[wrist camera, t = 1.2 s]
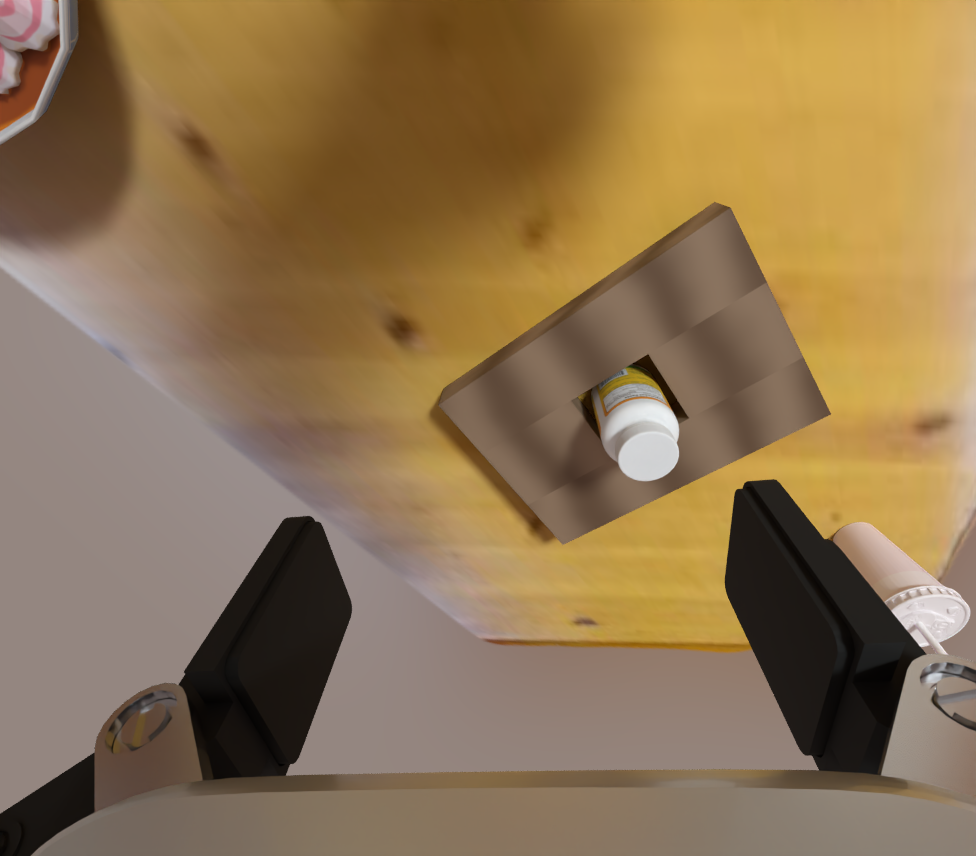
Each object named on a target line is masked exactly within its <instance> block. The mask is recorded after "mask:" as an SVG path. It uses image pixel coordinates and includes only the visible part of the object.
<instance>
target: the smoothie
mask: <svg viewBox="0 0 976 856" xmlns="http://www.w3.org/2000/svg"><path fill="white" fill-rule="evenodd" d="M833 542H834V543H835V544H836V545H837V546H838V547H839V548H840V549H841V550H842V551H843V553H844V554H845V555H846V556H847V557H848V559H849V560H850V561H851V562H852V564H853V565H854V566H855V567H856V568H857V570H858V571H859V572H860V573H861V575H862V576H863V577H864V578H865V580H866V581H867V582H868V583H869V584H870V586H871V587H872V588H873V589H874V591H875V592H876V593H877V594H878V595H879V597H880V598H881V599H882V600H883V602H884V603H885V604H886V605H887V606H888V608H889V609H890V610H891V611H892V613H893V614H894V615H895V616H896V618H897V619H898V620H899V621H900V622H901V624H902V625H903V626H904V627H905V629H906V630H907V631H908V632H909V633H910V635H911V636H912V637H913V638H914V640H915V641H916V642H917V643H918V644H919V646H920V647H923V646H928V645H930V646H931V647H932V648H933V649H934V651H935V652H936V653H937V654H945V655H948V654H947V653H946V652H945V650H944V649H943V648H942V647H941V645H940V644H939V642H942V641H944V640H946V639H948V638H950V637H952V636H953V635H955V634H956V633H958V632H959V631H960V630H961V629H962V628H963V627H964V626H965V625H966V624H967V622H968V620H969V617H970V608H969V606H968V604H967V603H966V602H965V601H964V600H963V599H962V597H961V596H960V594H959V593H957V592H956V591H955V590H953V589H950V588H947V587H944V586H943V585H942V584H941V583H939V582H938V581H937V580H936V579H935V578H934V577H933V576H931V575H930V574H929V573H928V572H926V571H925V570H924V569H923V568H922V567H921V566H919V565H918V564H917V563H916V562H915V561H914V560H912V559H911V558H910V557H909V556H908V555H906V554H905V553H904V552H903V551H902V550H901V549H899V548H898V547H897V546H896V545H895V544H894V543H892V542H891V541H890V540H889V539H888V538H886V537H885V536H884V535H883V534H882V533H881V532H879V531H878V530H877V529H876V528H875V527H874V526H872V525H871V524H869V523H865V522H856V523H852V524H849V525H846V526H844V527H843V528H841V529H840V530H839V531H838V532H837V533H836V534H835V536H834V538H833Z"/></svg>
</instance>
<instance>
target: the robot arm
mask: <svg viewBox="0 0 976 856" xmlns="http://www.w3.org/2000/svg"><path fill="white" fill-rule="evenodd" d="M725 588H726V593H727V596H728V598H729V601H730V603H731V605H732V607H733V609H734V611H735V613H736V615H737V618H738V620H739V622H740V624H741V626H742V628H743V630H744V632H745V635H746V637H747V639H748V641H749V643H750V645H751V647H752V649H753V652H754V653H755V656H756V658H757V660H758V662H759V664H760V666H761V669H762V670H763V673H764V675H765V677H766V679H767V681H768V683H769V686H770V688H771V690H772V692H773V694H774V696H775V698H776V700H777V703H778V704H779V707H780V709H781V711H782V713H783V715H784V717H785V719H786V721H787V724H788V726H789V728H790V730H791V732H792V734H793V736H794V738H795V741H796V743H797V745H798V747H799V749H800V750H801V752H802V753H803V754H804V755H812V756H813V758H814V760H815V763H816V765H817V767H818V769H819V771H816V770H730V769H728V770H726V769H711V770H710V769H707V770H590V771H589V770H586V771H511V772H509V771H507V772H444V773H443V772H439V773H383V774H334V775H332V774H331V775H293V776H286V773H287V771H288V768H289V765H290V764H293V763H295V762H296V761H297V759H298V758H299V755H300V753H301V750H302V748H303V745H304V742H305V739H306V737H307V734H308V731H309V729H310V726H311V723H312V721H313V718H314V715H315V712H316V710H317V707H318V704H319V702H320V699H321V696H322V693H323V691H324V688H325V685H326V683H327V680H328V677H329V675H330V672H331V669H332V666H333V664H334V661H335V658H336V656H337V653H338V650H339V647H340V645H341V642H342V639H343V637H344V634H345V631H346V629H347V626H348V623H349V620H350V618H351V613H352V604H351V600H350V597H349V595H348V592H347V589H346V587H345V584H344V582H343V579H342V576H341V574H340V571H339V568H338V566H337V563H336V561H335V558H334V555H333V553H332V550H331V547H330V545H329V542H328V540H327V537H326V534H325V532H324V529H323V527H322V525H321V523H320V522H315V520H314V519H313V518H312V517H310V516H303V517H290V518H286V519H284V520H283V521H282V523H281V524H280V526H279V528H278V529H277V530H276V532H275V533H274V535H273V537H272V538H271V539H270V541H269V542H268V544H267V546H266V547H265V549H264V550H263V552H262V553H261V555H260V556H259V558H258V559H257V561H256V562H255V564H254V566H253V567H252V569H251V570H250V572H249V573H248V575H247V576H246V578H245V579H244V581H243V582H242V584H241V585H240V587H239V588H238V590H237V591H236V593H235V595H234V596H233V598H232V599H231V600H230V602H229V604H228V605H227V607H226V608H225V610H224V611H223V613H222V614H221V616H220V617H219V619H218V620H217V622H216V624H215V625H214V627H213V628H212V630H211V631H210V633H209V634H208V636H207V637H206V639H205V640H204V642H203V643H202V645H201V646H200V648H199V650H198V651H197V652H196V654H195V655H194V657H193V659H192V660H191V662H190V663H189V665H188V666H187V668H186V669H185V671H184V673H185V676H184V677H183V679H182V680H181V682H180V683H179V685H177V684H175V683H163V684H159V685H154V686H151V687H149V688H147V689H145V690H143V691H140V692H139V693H137V694H136V695H134V696H133V697H131V698H130V699H128V700H127V701H126V702H124V704H122V705H121V706H120V707H119V708H118V709H117V710H115V711H114V712H113V714H112V715H111V716H110V717H109V719H108V720H107V721H106V722H105V723H104V725H103V727H102V729H101V730H100V732H99V734H98V736H97V739H96V744H95V753H93V754H92V755H90V756H88V757H87V758H85V759H84V760H82V761H81V762H79V763H78V764H76V765H75V766H73V767H72V768H70V769H68V770H67V771H65V772H64V773H62V774H61V775H59V776H58V777H56V778H55V779H53V780H52V781H50V782H48V783H47V784H46V785H44V786H42V787H41V788H39V789H38V790H36V791H35V792H33V793H32V794H30V795H28V796H27V797H25V798H24V799H22V800H21V801H20V802H18V803H16V804H15V805H13V806H12V807H10V808H8V809H7V810H5V811H4V812H3V813H1V814H0V856H976V662H974V661H970V660H967V659H964V658H961V657H958V656H953V655H945V654H929V655H927V654H926V653H925V652H924V651H923V649H922V648H921V647H920V646H919V644H918V643H917V642H916V641H915V640H914V638H913V637H912V636H911V635H910V633H909V632H908V631H907V630H906V629H905V627H904V626H903V625H902V624H901V622H900V621H899V620H898V619H897V618H896V616H895V615H894V614H893V613H892V611H891V610H890V609H889V608H888V606H887V605H886V604H885V603H884V602H883V600H882V599H881V598H880V597H879V595H878V594H877V593H876V592H875V591H874V589H873V588H872V587H871V586H870V584H869V583H868V582H867V581H866V580H865V578H864V577H863V576H862V575H861V573H860V572H859V571H858V570H857V568H856V567H855V566H854V565H853V564H852V562H851V561H850V560H849V559H848V557H847V556H846V555H845V554H844V553H843V551H842V550H841V549H840V548H839V547H838V546H837V545H836V544H835V543H834V542H833V541H830V540H828V539H824V538H823V537H822V536H821V535H820V533H819V532H818V531H817V529H816V528H815V527H814V526H813V524H812V523H811V522H810V521H809V519H808V518H807V517H806V516H805V514H804V513H803V512H802V511H801V509H800V508H799V507H798V506H797V504H796V503H795V502H794V501H793V499H792V498H791V497H790V495H789V494H788V493H787V492H786V490H785V489H784V488H783V487H782V485H781V484H780V483H779V482H778V481H777V480H774V479H773V480H760V481H748V482H745V484H744V486H743V489H737V490H736V492H735V496H734V504H733V513H732V522H731V530H730V539H729V548H728V556H727V565H726V574H725Z"/></svg>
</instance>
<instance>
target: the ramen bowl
mask: <svg viewBox="0 0 976 856" xmlns="http://www.w3.org/2000/svg"><path fill="white" fill-rule="evenodd" d="M77 40H78V0H0V145H1V144H3V143H4V142H6V141H7V140H9V139H10V138H12V137H13V136H15V135H16V134H18V133H19V132H21V131H23V130H24V129H26V128H27V127H29V126H30V125H32V124H33V123H35V122H36V121H37V120H38V119H39V118H40V117H41V116H42V115H43V114H44V113H45V112H46V111H47V109H48V107H49V105H50V102H51V100H52V98H53V95H54V93H55V91H56V89H57V86H58V84H59V82H60V79H61V77H62V75H63V73H64V70H65V68H66V66H67V63H68V61H69V59H70V56H71V54H72V52H73V50H74V47H75V45H76V42H77Z"/></svg>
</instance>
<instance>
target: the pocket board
mask: <svg viewBox="0 0 976 856" xmlns="http://www.w3.org/2000/svg"><path fill="white" fill-rule="evenodd" d="M647 354H648V355H649V356H650V358H651V359H652V361H653V362H654V364H655V366H656V367H657V369H658V370H659V372H660V373H661V375H662V377H663V378H664V380H665V381H666V383H667V384H668V386H669V387H670V389H671V391H672V392H673V394H674V395H675V397H676V398H677V400H678V401H677V402H676V403H674V404H672V405H670V407H671V409H672V411H673V413H674V415H675V417H676V419H677V421H678V425H679V437H678V441H677V445H678V448H679V458H678V461H677V463H676V465H675V467H674V468H673V469H672V470H671V471H670V472H669V473H668V474H667V475H665V476H663V477H661V478H659V479H656V480H652V481H638V480H634V479H632V478H629V477H628V476H626V475H625V474H624V473H623V472H622V471H621V469H620V467H619V465H618V462H616V461H615V460H613V459H612V458H611V457H610V456H609V455H608V454H607V452H606V451H605V449H604V446H603V444H602V441H601V437H600V433H599V428H598V424H597V423H596V421H595V420H594V419H593V417H592V416H591V415H590V413H589V412H588V410H587V409H586V408H585V406H584V405H583V404H582V402H581V401H580V400H579V398H578V396H579V395H581V394H583V393H584V392H586V391H588V390H589V389H591V388H593V387H594V386H596V385H598V384H599V383H601V382H603V381H604V380H606V379H608V378H609V377H611V376H613V375H614V374H616V373H618V372H619V371H621V370H623V369H624V368H626V367H627V366H629V365H631V364H632V363H634V362H636V361H637V360H639V359H641V358H642V357H644V356H646V355H647ZM439 407H440V408H441V409H442V410H443V411H444V412H445V413H446V414H447V415H448V417H449V418H450V419H451V420H452V421H453V422H454V423H455V424H456V426H457V427H458V428H459V429H460V430H461V431H462V432H463V433H464V435H465V436H466V437H467V438H468V439H469V440H470V441H471V442H472V444H473V445H474V446H475V447H476V448H477V449H478V450H479V451H480V452H481V454H482V455H483V456H484V457H485V458H486V459H487V460H488V461H489V463H490V464H491V465H492V466H493V467H494V468H495V469H496V470H497V472H498V473H499V474H500V475H501V476H502V477H503V478H504V479H505V480H506V482H507V483H508V484H509V485H510V486H511V487H512V488H513V489H514V491H515V492H516V493H517V494H518V495H519V496H520V497H521V498H522V500H523V501H524V502H525V503H526V504H527V505H528V506H529V507H530V509H531V510H532V511H533V512H534V513H535V514H536V515H537V516H538V517H539V519H540V520H541V521H542V522H543V523H544V524H545V525H546V526H547V528H548V529H549V530H550V531H551V532H552V533H553V534H554V535H555V537H556V538H557V539H558V540H559V541H560V542H561V543H562V544H563V545H564V544H566V543H568V542H570V541H572V540H574V539H576V538H578V537H580V536H582V535H584V534H586V533H588V532H590V531H592V530H594V529H596V528H598V527H600V526H603V525H605V524H607V523H609V522H611V521H613V520H615V519H617V518H619V517H621V516H623V515H625V514H627V513H629V512H631V511H633V510H635V509H637V508H640V507H642V506H644V505H646V504H648V503H650V502H652V501H654V500H656V499H658V498H660V497H662V496H664V495H666V494H668V493H670V492H672V491H674V490H676V489H679V488H681V487H683V486H685V485H687V484H689V483H691V482H693V481H695V480H697V479H699V478H701V477H703V476H705V475H707V474H709V473H711V472H713V471H716V470H718V469H720V468H722V467H724V466H726V465H728V464H730V463H732V462H734V461H736V460H738V459H740V458H742V457H744V456H746V455H748V454H750V453H752V452H755V451H757V450H759V449H761V448H763V447H765V446H767V445H769V444H771V443H773V442H775V441H777V440H779V439H781V438H783V437H785V436H787V435H789V434H792V433H794V432H796V431H798V430H800V429H802V428H804V427H806V426H808V425H810V424H812V423H814V422H816V421H818V420H820V419H822V418H824V417H826V416H828V415H831V413H830V411H829V409H828V407H827V405H826V403H825V401H824V399H823V397H822V395H821V393H820V390H819V388H818V386H817V384H816V382H815V380H814V378H813V376H812V374H811V372H810V370H809V368H808V366H807V364H806V362H805V360H804V358H803V356H802V354H801V351H800V349H799V347H798V345H797V343H796V341H795V339H794V337H793V335H792V333H791V331H790V329H789V327H788V325H787V323H786V321H785V319H784V317H783V314H782V312H781V310H780V308H779V306H778V304H777V302H776V300H775V298H774V296H773V294H772V292H771V290H770V288H769V286H768V284H767V282H766V280H765V277H764V275H763V273H762V271H761V269H760V267H759V265H758V263H757V261H756V259H755V257H754V255H753V253H752V251H751V249H750V247H749V245H748V243H747V241H746V238H745V236H744V234H743V232H742V230H741V228H740V226H739V224H738V222H737V220H736V218H735V216H734V214H733V212H732V210H731V208H730V207H727V206H724V205H721V204H719V203H716V202H714V203H713V204H711V205H710V206H708V207H707V208H705V209H704V210H703V211H701V212H700V213H698V214H697V215H695V216H694V217H692V218H691V219H689V220H688V221H687V222H685V223H684V224H682V225H681V226H679V227H678V228H676V229H675V230H673V231H672V232H671V233H669V234H668V235H666V236H665V237H663V238H662V239H660V240H659V241H657V242H656V243H655V244H653V245H652V246H650V247H649V248H647V249H646V250H644V251H643V252H642V253H640V254H639V255H637V256H636V257H634V258H633V259H631V260H630V261H628V262H627V263H626V264H624V265H623V266H621V267H620V268H618V269H617V270H615V271H614V272H612V273H611V274H610V275H608V276H607V277H605V278H604V279H602V280H601V281H599V282H598V283H596V284H595V285H594V286H592V287H591V288H589V289H588V290H586V291H585V292H583V293H582V294H580V295H579V296H578V297H576V298H575V299H573V300H572V301H570V302H569V303H567V304H566V305H564V306H563V307H562V308H560V309H559V310H557V311H556V312H554V313H553V314H551V315H550V316H548V317H547V318H546V319H544V320H543V321H541V322H540V323H538V324H537V325H535V326H534V327H532V328H531V329H530V330H528V331H527V332H525V333H524V334H522V335H521V336H519V337H518V338H516V339H515V340H514V341H512V342H511V343H509V344H508V345H506V346H505V347H503V348H502V349H500V350H499V351H498V352H496V353H495V354H493V355H492V356H490V357H489V358H487V359H486V360H485V361H483V362H482V363H480V364H479V365H477V366H476V367H474V368H473V369H471V370H470V371H469V372H467V373H466V374H464V375H463V376H461V377H460V378H458V379H457V380H455V381H454V382H453V383H451V384H450V385H448V386H447V387H445V388H444V389H443V392H442V395H441V399H440V402H439Z"/></svg>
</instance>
